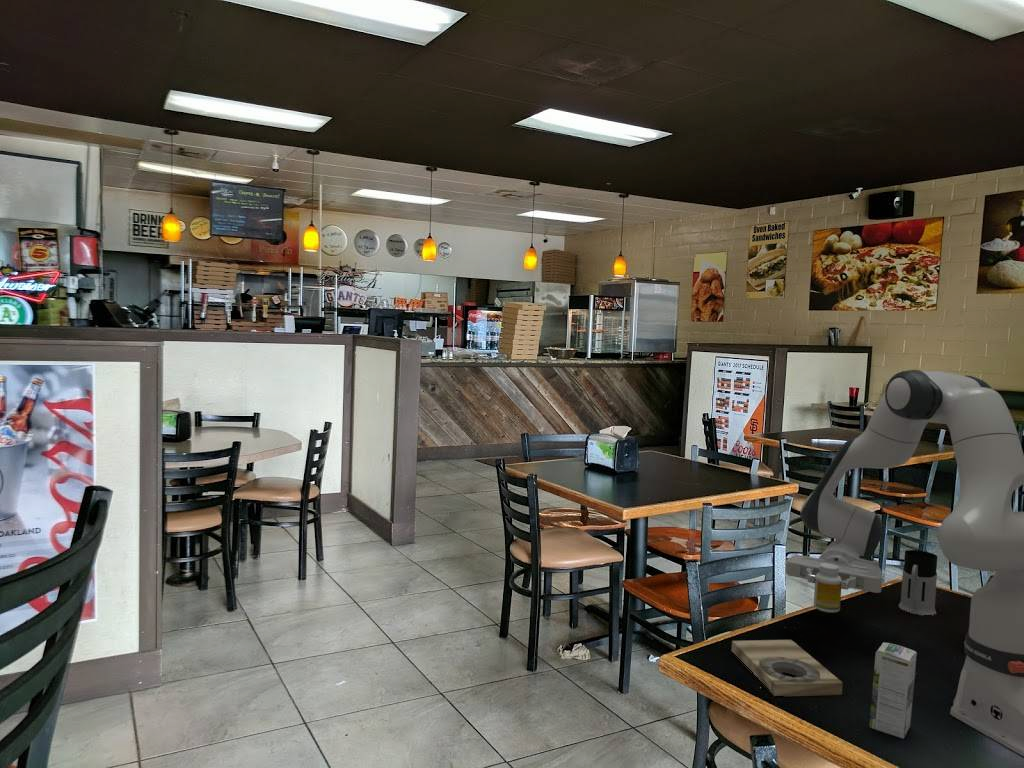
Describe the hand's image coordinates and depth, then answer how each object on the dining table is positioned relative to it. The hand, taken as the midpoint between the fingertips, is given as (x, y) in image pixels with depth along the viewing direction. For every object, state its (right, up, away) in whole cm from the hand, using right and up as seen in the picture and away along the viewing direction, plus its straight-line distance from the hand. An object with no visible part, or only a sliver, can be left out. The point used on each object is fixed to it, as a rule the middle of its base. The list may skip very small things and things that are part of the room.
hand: (827, 582), depth 156 cm
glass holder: (+36, -16, +30) cm, 50 cm away
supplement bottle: (0, -6, +1) cm, 6 cm away
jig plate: (-13, -17, -7) cm, 22 cm away
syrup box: (-1, -19, -28) cm, 34 cm away
